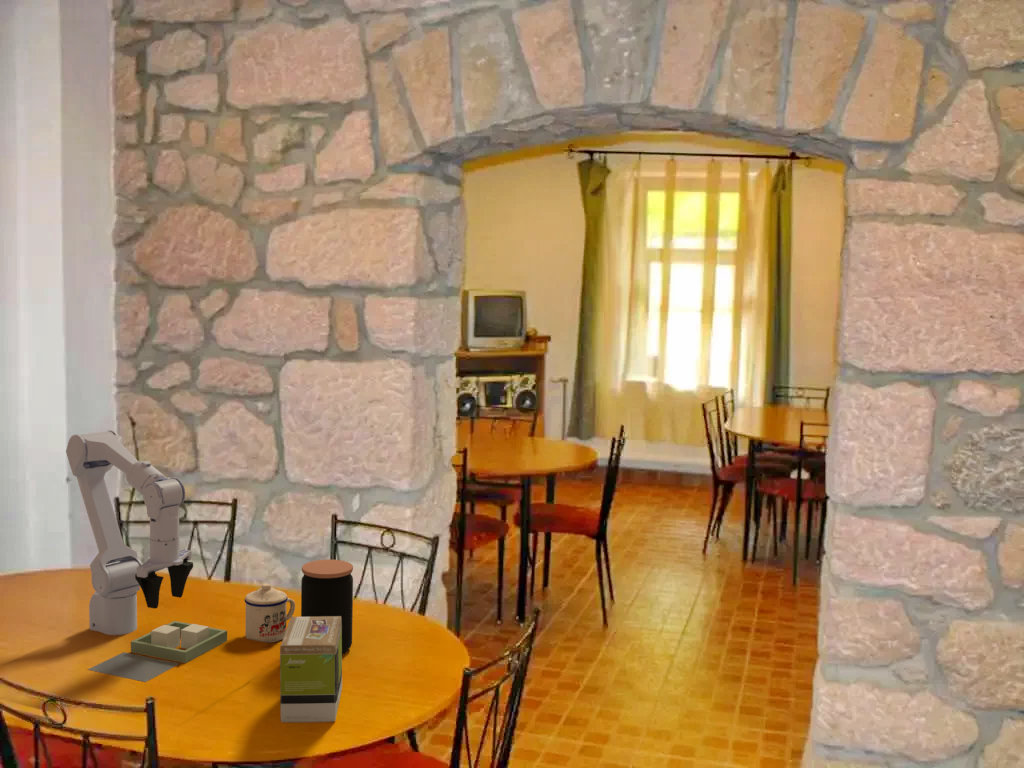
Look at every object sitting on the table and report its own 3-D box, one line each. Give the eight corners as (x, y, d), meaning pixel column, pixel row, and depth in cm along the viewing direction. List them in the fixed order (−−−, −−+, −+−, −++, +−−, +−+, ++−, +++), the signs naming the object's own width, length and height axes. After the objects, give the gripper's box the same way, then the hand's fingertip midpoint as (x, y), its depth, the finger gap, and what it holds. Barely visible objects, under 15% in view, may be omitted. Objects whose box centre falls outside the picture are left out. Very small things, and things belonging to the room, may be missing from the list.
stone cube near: (151, 649, 212) (151, 630, 212) (164, 643, 216) (164, 624, 215) (167, 652, 211) (167, 633, 210) (179, 646, 214) (179, 627, 214)
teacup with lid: (260, 647, 217) (261, 594, 215) (235, 636, 223) (236, 584, 221) (306, 633, 226) (307, 582, 224) (281, 623, 232) (282, 573, 230)
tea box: (290, 688, 197) (290, 614, 195) (342, 688, 197) (344, 614, 196) (278, 723, 182) (279, 643, 180) (336, 723, 183) (337, 643, 181)
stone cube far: (180, 648, 213) (180, 629, 213) (193, 642, 217) (193, 623, 216) (196, 651, 212) (196, 632, 211) (209, 645, 215) (208, 626, 215)
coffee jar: (361, 645, 220) (363, 564, 217) (332, 662, 210) (334, 577, 208) (320, 636, 224) (321, 556, 222) (290, 652, 214) (291, 569, 212)
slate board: (87, 673, 200) (87, 669, 200) (123, 655, 210) (123, 652, 210) (145, 685, 195) (145, 681, 195) (179, 667, 205) (179, 663, 205)
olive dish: (130, 655, 210) (130, 641, 210) (174, 634, 223) (174, 620, 222) (185, 666, 205) (185, 652, 205) (227, 644, 218) (227, 630, 217)
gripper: (156, 549, 202) (157, 615, 204) (203, 532, 216) (203, 594, 217) (127, 544, 205) (128, 610, 206) (175, 528, 218) (176, 589, 220)
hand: (165, 601), depth 212 cm, fingers open, 7 cm apart
